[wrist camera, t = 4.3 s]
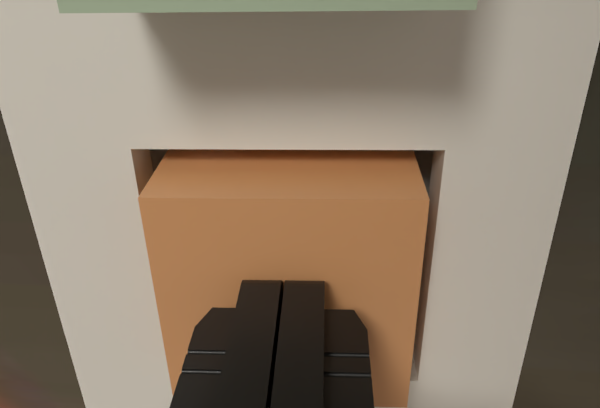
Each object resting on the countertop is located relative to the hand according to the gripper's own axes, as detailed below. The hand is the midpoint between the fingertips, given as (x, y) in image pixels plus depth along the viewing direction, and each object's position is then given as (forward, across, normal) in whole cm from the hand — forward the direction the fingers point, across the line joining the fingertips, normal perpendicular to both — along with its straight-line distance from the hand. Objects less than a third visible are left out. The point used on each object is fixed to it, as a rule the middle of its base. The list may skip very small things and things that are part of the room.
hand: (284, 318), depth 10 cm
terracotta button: (+3, 0, 0) cm, 3 cm away
